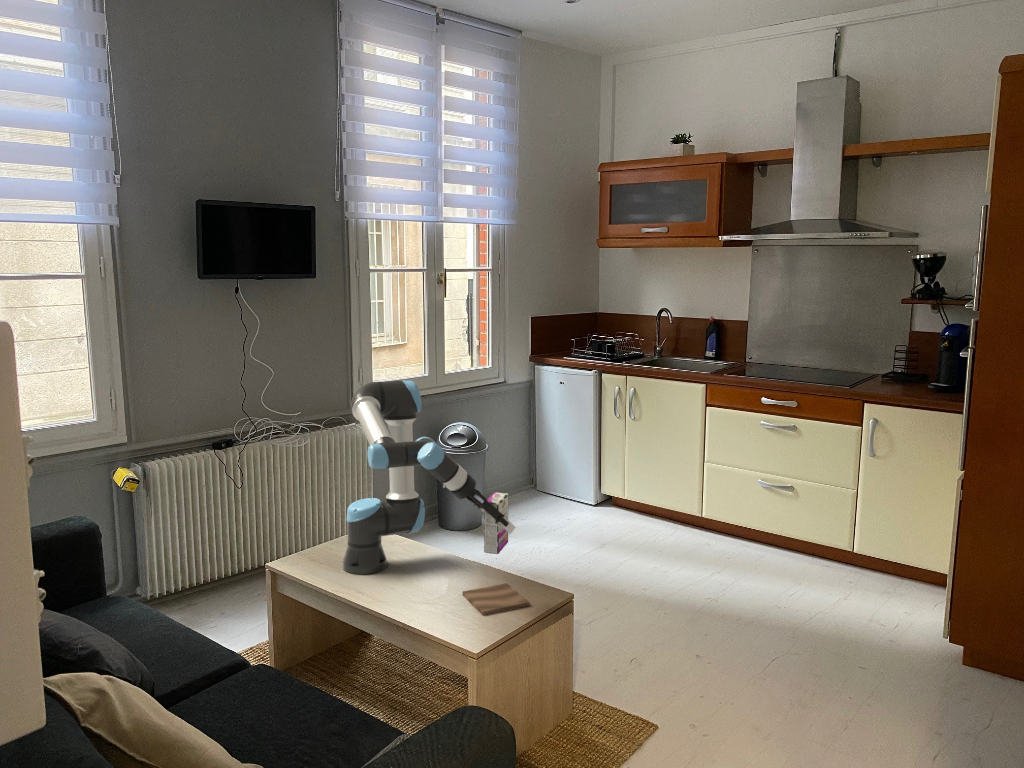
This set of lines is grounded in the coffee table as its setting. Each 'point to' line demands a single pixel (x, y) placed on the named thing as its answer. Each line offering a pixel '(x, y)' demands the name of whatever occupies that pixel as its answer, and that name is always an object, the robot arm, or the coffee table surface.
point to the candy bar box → (495, 525)
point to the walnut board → (495, 599)
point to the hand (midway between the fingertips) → (504, 524)
